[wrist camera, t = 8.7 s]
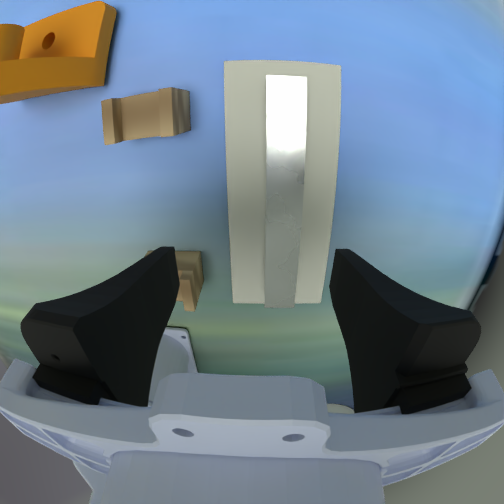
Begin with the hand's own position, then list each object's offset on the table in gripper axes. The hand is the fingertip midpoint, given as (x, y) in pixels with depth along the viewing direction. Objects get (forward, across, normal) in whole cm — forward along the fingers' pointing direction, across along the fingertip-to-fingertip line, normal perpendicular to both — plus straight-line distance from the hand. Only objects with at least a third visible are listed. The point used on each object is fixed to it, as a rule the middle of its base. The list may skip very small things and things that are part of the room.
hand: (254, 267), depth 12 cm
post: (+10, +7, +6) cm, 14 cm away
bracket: (+10, +16, -14) cm, 24 cm away
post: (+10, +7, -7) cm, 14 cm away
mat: (+10, -2, 0) cm, 10 cm away
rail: (+9, -2, 0) cm, 9 cm away
